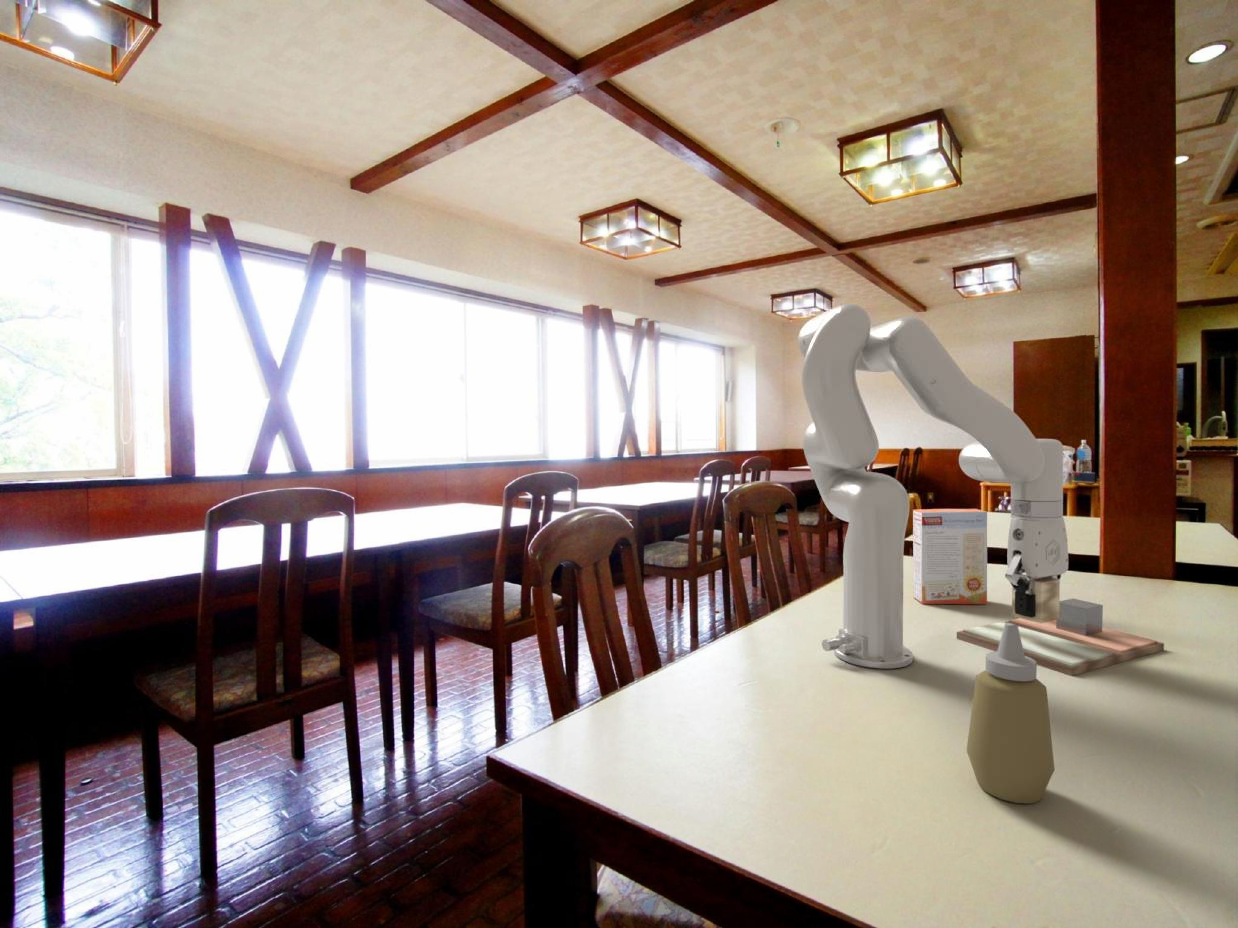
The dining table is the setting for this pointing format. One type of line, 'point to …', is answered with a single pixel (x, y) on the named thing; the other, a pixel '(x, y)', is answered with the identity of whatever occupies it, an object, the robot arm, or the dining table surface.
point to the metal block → (1080, 617)
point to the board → (1065, 645)
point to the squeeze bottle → (1011, 725)
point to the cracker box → (950, 556)
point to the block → (1043, 600)
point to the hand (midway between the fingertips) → (1035, 611)
